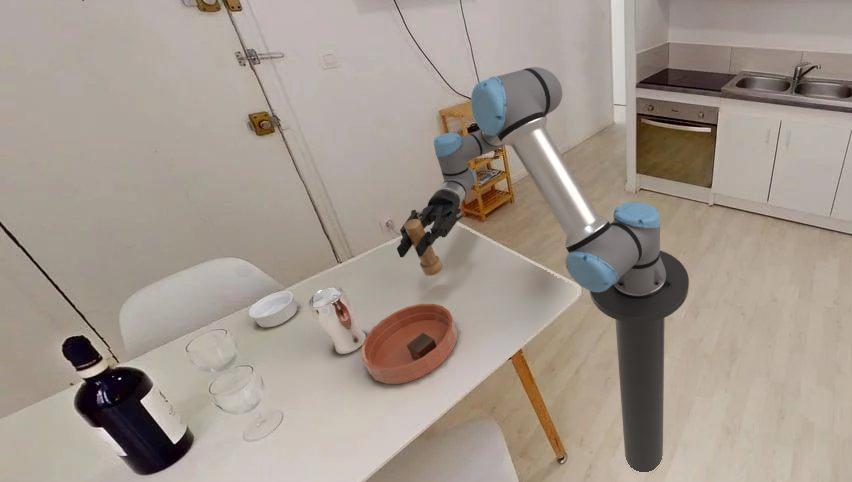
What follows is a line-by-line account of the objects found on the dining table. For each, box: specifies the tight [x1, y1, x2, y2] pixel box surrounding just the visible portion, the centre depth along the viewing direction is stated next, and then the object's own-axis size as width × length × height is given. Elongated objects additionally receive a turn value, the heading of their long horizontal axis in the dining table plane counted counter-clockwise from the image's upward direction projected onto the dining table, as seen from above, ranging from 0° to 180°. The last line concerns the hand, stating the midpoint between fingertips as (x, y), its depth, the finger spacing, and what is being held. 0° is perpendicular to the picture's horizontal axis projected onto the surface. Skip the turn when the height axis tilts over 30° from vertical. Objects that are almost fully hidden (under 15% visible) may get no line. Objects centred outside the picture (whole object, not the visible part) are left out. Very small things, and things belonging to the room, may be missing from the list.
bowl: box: [360, 303, 458, 385], centre depth 93 cm, size 18×18×5 cm
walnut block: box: [407, 333, 436, 360], centre depth 91 cm, size 4×4×4 cm
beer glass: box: [307, 285, 367, 355], centre depth 92 cm, size 7×7×15 cm
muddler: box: [403, 219, 443, 277], centre depth 103 cm, size 5×5×16 cm
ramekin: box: [248, 290, 298, 328], centre depth 103 cm, size 9×9×4 cm
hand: (409, 252), depth 96 cm, fingers closed on muddler, 4 cm apart
